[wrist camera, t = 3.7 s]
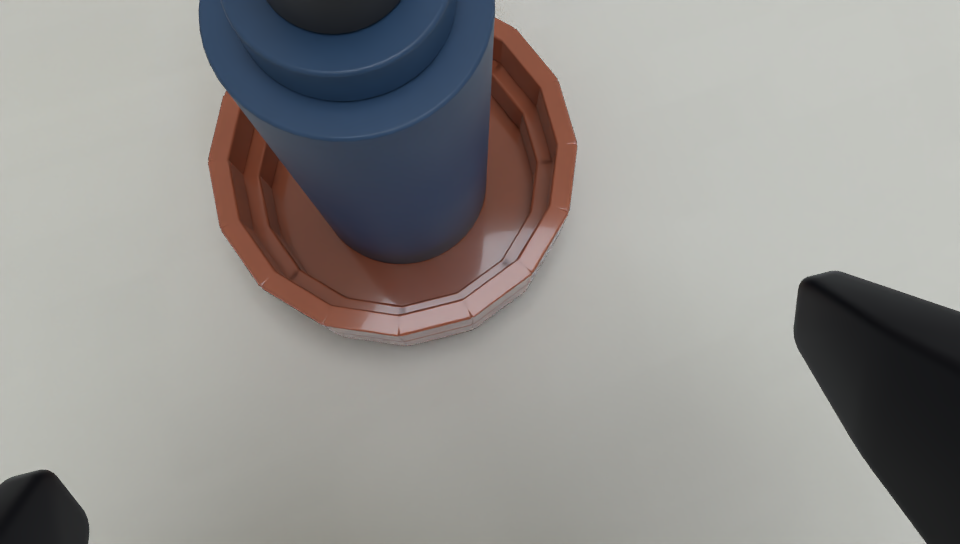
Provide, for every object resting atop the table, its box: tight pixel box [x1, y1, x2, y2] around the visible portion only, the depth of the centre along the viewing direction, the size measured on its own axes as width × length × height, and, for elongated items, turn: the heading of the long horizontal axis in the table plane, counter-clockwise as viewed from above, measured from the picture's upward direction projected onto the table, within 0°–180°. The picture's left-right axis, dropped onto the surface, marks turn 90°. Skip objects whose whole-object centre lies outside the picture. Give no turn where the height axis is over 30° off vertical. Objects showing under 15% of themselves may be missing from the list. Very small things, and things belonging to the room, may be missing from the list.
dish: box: [208, 18, 577, 346], centre depth 21 cm, size 10×10×3 cm
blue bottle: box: [199, 0, 495, 264], centre depth 16 cm, size 5×5×13 cm
